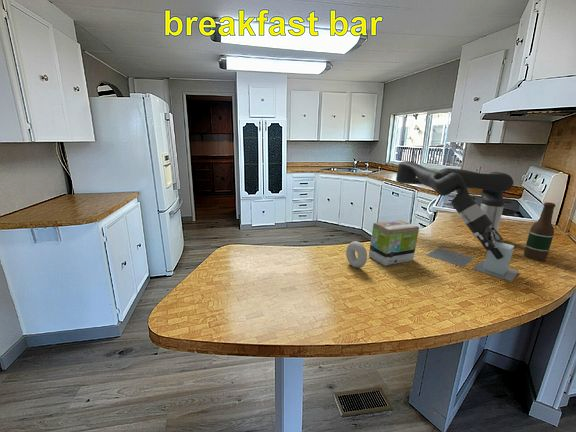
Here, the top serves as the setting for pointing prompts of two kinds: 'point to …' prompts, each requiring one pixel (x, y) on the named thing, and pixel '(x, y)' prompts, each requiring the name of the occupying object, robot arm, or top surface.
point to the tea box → (393, 242)
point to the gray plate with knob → (507, 276)
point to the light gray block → (499, 264)
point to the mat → (450, 257)
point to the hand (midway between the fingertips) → (503, 255)
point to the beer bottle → (540, 235)
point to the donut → (361, 254)
